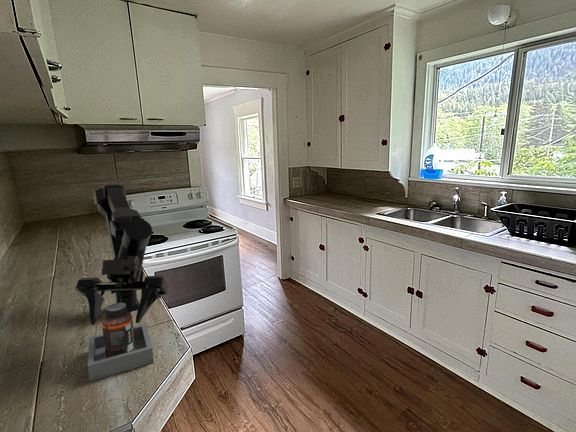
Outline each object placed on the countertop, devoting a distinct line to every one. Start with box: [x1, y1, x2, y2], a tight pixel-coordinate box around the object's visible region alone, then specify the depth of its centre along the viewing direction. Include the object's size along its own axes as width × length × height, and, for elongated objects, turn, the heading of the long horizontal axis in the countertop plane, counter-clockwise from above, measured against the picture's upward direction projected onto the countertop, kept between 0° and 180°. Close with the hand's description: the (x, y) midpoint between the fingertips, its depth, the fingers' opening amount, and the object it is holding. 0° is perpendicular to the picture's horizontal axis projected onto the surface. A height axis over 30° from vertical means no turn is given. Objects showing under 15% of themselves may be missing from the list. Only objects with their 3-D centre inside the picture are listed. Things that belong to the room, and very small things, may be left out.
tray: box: [87, 323, 154, 382], centre depth 71 cm, size 12×12×4 cm
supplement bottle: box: [101, 302, 135, 358], centre depth 70 cm, size 6×6×11 cm
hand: (115, 323), depth 68 cm, fingers open, 9 cm apart
